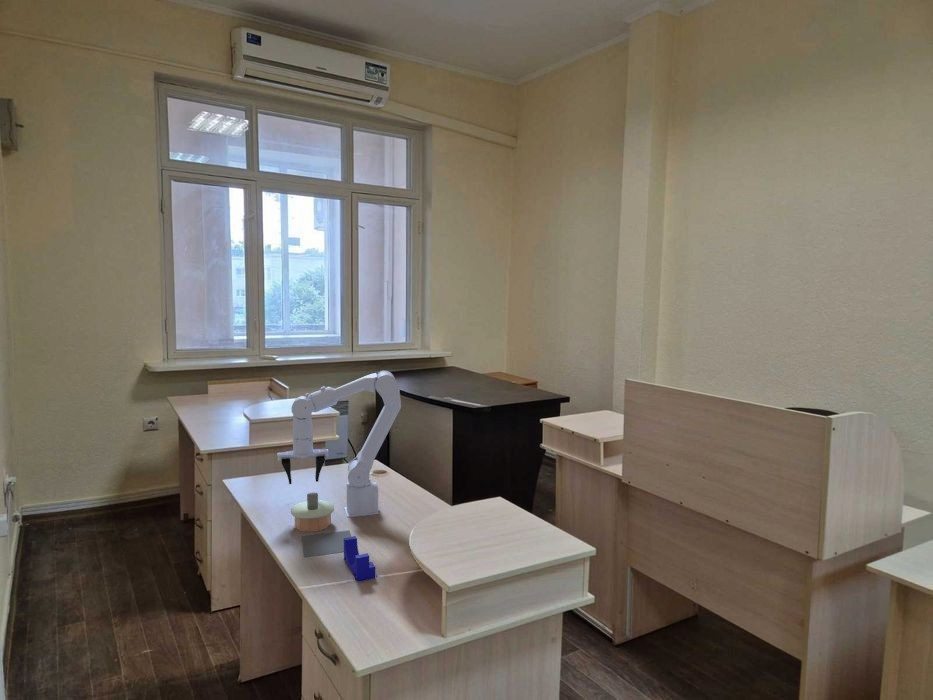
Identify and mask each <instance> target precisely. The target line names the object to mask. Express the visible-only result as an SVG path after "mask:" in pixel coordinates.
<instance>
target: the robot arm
mask: <svg viewBox="0 0 933 700" xmlns="http://www.w3.org/2000/svg"><path fill="white" fill-rule="evenodd" d="M400 390H401V389H400V386H399V383H398V382H397V380H396V378H395V375H394V374H393V373H392V372H391V371H389V370H380V371H378V372H374V373H370V374H367V375H365V376H362V377H360V378H357V379H356V380H353V381H350V382H348V383H345V384H343V385H341V386H339V387H336V388H334V387H331V386H327V387H326V386H325V385H323V386H322V387H320V389H319V390H317V391H314V392H311V393H309V392H307V393H305V395H300V396H298V397H296V398H295V399H294V400H293V403H292V405H291V414H292V450H289V451H288V450H287V451H284V452H283V451H282V452H277V454H276V455H277V462H281V465H282V467H283V469H284V471H285V474H286V476H287V480H288V485H292V474H291V472H292V471H291V468H292V467H291V460H297V459H299V460H301V459H312V458H315V475H314V476H315V482H319V478H320V475H321V471H322V469H323V466H324V464H325V461H326V458H329V449H327V448H322V449H321V448H320V449H319V448H318V449H317V448H315V449H314V433H313V432H314V428H313V427H314V425H313V423H314V422H313V420H312V413H317V412H321V411H323V410H325V409H328V408H330V407H333V406H336V405H337V403H338V401H339V400H340V399H343V398H345V397H348V396H351V395H354V394H357V393H360V392H363V391H367V392H370V393H375V391H376V392H377V393H378V394H379V396H380V397H381V398H382V402H383V404H384V405H383V407H382V409H381V411H380V413H379V415H378V417H377V418H376V420H375V422H374V424H373V426H372V428H371V430H370V432H369V434H368V436H367V438H366V440H365V442H364V444H363V445H362V448H361V449H360V451H358V453H357V454H356V457H354V458H353V459H352V460H351V461H350V462H349V463H348V465H347V473H348V475H347V481H346V506H344V507H343V509H344V512H345V515H346V517H347V518H354V517H363V516H371V515H378V514H379V513H380V512H379V486H378V482H376V481H371V479H370V472H371V469H372V468H373V465H374V461H375V458H376V457H377V455H378V453H379V451H380V449H381V447H382V446H383V443H384V441H385V440H386V437H387V435H388V434H389V432H390V431H391V430H390V429H391V428H392V426H393V424H394V422H395V420H396V418H397V416H398V414H399V412H400V411H401V408H402V401H401V393H400V392H401V391H400Z"/></svg>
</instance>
